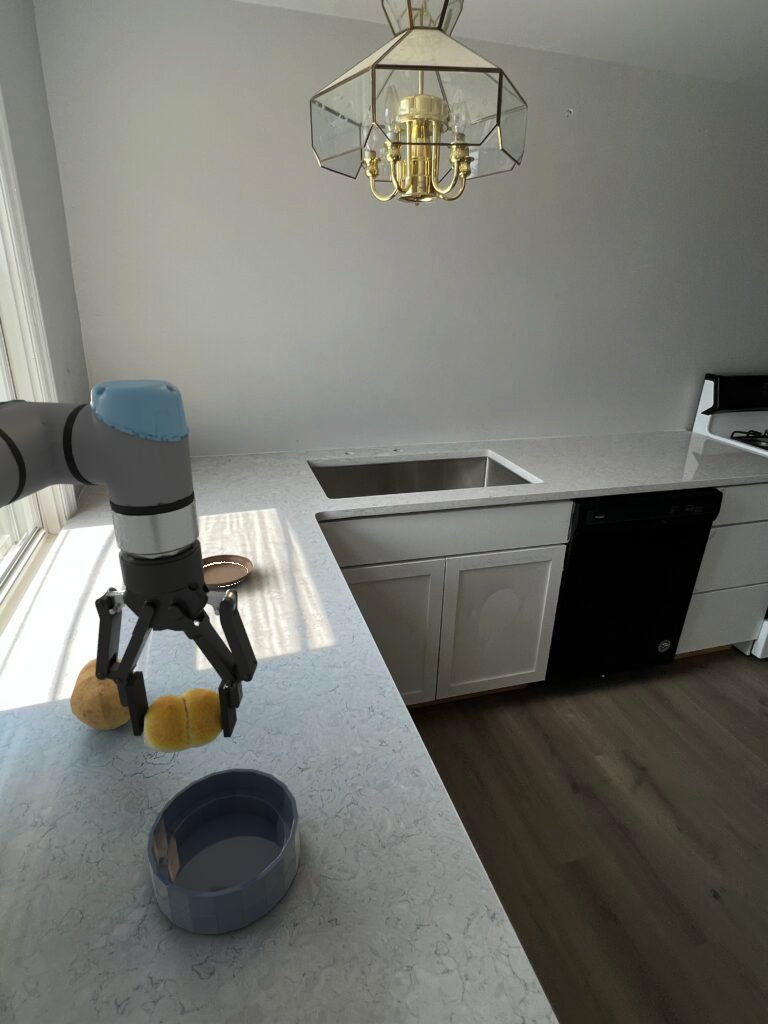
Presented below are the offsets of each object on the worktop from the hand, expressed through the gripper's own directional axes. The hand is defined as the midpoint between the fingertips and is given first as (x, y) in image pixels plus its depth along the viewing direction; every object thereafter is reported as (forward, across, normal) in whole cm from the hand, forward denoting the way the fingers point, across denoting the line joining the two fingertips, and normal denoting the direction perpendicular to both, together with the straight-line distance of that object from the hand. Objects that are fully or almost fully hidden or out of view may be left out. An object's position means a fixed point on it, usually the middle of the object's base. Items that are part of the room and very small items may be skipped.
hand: (186, 727), depth 62 cm
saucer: (+16, +17, -66) cm, 70 cm away
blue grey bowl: (+16, -4, +4) cm, 17 cm away
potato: (+16, +20, -19) cm, 32 cm away
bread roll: (0, 0, 0) cm, 0 cm away
